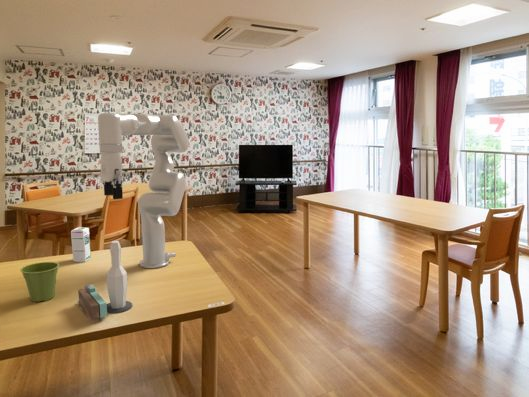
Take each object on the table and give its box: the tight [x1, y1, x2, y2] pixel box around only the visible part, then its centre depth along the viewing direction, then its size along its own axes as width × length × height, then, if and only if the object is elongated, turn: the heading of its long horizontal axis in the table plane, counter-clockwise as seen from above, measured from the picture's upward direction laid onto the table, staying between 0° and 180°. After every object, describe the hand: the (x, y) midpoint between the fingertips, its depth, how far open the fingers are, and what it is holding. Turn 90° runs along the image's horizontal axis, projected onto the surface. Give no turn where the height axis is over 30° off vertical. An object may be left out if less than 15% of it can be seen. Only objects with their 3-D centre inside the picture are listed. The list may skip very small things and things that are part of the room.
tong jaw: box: [88, 285, 108, 319], centre depth 131 cm, size 2×14×6 cm, turn 37°
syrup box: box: [70, 226, 92, 263], centre depth 183 cm, size 6×6×14 cm
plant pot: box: [20, 261, 60, 303], centre depth 141 cm, size 12×12×11 cm
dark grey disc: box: [107, 300, 133, 314], centre depth 136 cm, size 9×9×1 cm
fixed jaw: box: [77, 284, 100, 324], centre depth 132 cm, size 5×18×6 cm, turn 38°
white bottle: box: [106, 240, 128, 309], centre depth 134 cm, size 6×6×22 cm
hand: (113, 197), depth 147 cm, fingers open, 9 cm apart
